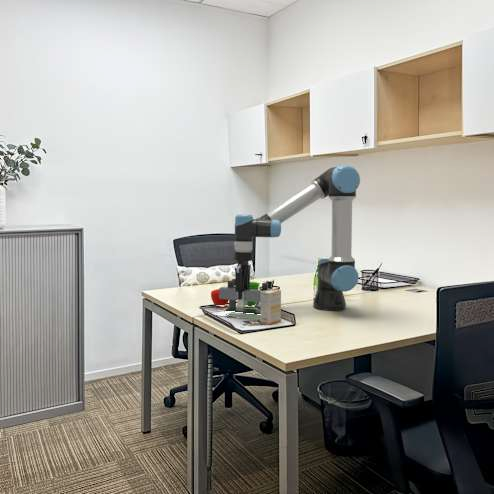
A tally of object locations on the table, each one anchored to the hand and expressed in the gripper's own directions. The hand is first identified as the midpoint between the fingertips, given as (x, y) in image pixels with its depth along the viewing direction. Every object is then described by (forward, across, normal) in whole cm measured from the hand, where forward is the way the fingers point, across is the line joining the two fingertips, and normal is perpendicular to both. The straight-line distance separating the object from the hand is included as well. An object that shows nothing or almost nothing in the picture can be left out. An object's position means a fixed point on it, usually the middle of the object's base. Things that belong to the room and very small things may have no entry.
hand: (242, 305), depth 214 cm
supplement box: (+5, +5, +14) cm, 16 cm away
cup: (+5, -21, -4) cm, 21 cm away
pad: (+5, 0, 0) cm, 5 cm away
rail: (-3, 0, 0) cm, 3 cm away
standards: (+5, -9, 0) cm, 10 cm away
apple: (+5, -16, -17) cm, 23 cm away
